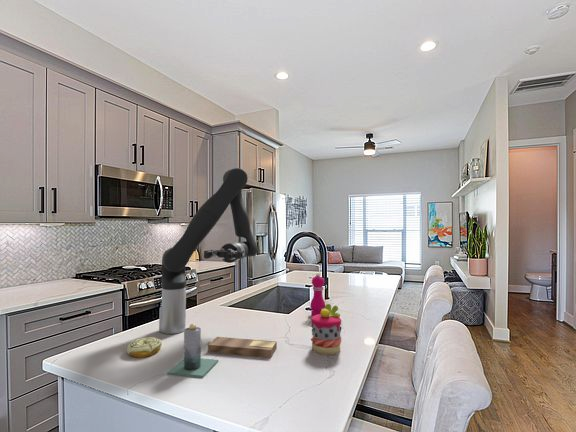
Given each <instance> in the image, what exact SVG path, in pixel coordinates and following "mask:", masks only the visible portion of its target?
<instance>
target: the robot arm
mask: <svg viewBox="0 0 576 432" xmlns="http://www.w3.org/2000/svg"><path fill="white" fill-rule="evenodd" d="M248 178H249V177H248V173H247V172H246V170H245V169H243V168H239V167H234V168H231V169H229V170H226V172H225V173H224V174H223V176H222V184H221V186H219V188H218V190H217V191H216V192H215V193H213V195H212V196H210V197H209V198H207V200H206V201H205V202H204V203H203V204H202V205H201V206H200V207H199V209H198V210H197V211H196V212H195V213H194V215H193V216H192V218H191V220H190V222H189V223H188V225H187V227H186V229H185V231H184V233H183V235H182V236H181V237H180V238H179V239H178V241H177V242H176V243H175V244H174V245H173V247H170V248H168V249H166V250H165V252H164V253H162V256H161V257H162V258H161V306H160V307H159V317H158V319H159V321H158V323H159V325H158V332H159V333H163V334H167V335H170V334H171V335H173V334H178V333H184V329H186V317H187V316H186V315H187V314H186V313H187V312H186V311H187V307H186V306H187V279H186V277H187V276H186V266H187V265H188V263H189V260H190V259H191V257H192V256H193V254H194V253H195V250H196V249H197V248H198V247H199V245H200V244H202V241H203V240H204V239H205V238H206V237H207V236H208V234H209V233H210V232H212V231H211V230H213V228H214V227H215V226H216V224H217V223H218V222H219V221H220V219H221V217H222V216H223V214H224V213H225V212H226V210H227V209H228V207H229V206H230V210H231V214H232V222H233V227H234V233H235V236H236V237H238V238H243V239H245V241H237V242H229V243H225V244H223V245H222V246H221V247H220V248H218V249H209V250H204V251H203V258H204V259H205V260H207V259H213V260H219V259H220V260H222V261H223V262H224V263H227V264H231V263H234V262H237V261H239V260H242V259H244V258H249V257H250V258H251V257H255V256H256V255H257V254H258V251H259V249H258V245H257V242H256V240H255V238H254V235H253V233H252V230H251V229H252V228H251V223H250V218H249V214H248V211H247V209H246V206H245V203H244V200H243V194H242V190H243V189H244V188H245V186H247V183H248Z"/></svg>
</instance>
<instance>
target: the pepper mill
mask: <svg viewBox="0 0 576 432" xmlns="http://www.w3.org/2000/svg"><path fill="white" fill-rule="evenodd" d="M311 284H312V290H313V297H312V299H311V302H310V305H309V306H310V309H311V312H310V313H311V314H310V315H311V317H313V316H315V315H318V314H321V309H322V308H324V309H325V306H326V303H325V300H324V296H323V291H324V284H325V279H324V278H323V277H322V276H321V274H320V273H318V272H317V273H316V276H314V277H313V278H312V279H311Z"/></svg>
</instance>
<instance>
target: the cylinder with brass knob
mask: <svg viewBox="0 0 576 432" xmlns="http://www.w3.org/2000/svg"><path fill="white" fill-rule="evenodd" d="M201 332H202V328H201V327H198V326H196V324H195V323H191V324H190V325H189V326H188V327H185V329H184V331H183V359H184V369H185V370H195V369H198V368H200V366H201V358H202V357H201V353H202V351H201V350H202V349H201V348H202V347H201V345H202V344H201V343H202V339H201V337H202V335H201V334H202V333H201Z"/></svg>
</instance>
